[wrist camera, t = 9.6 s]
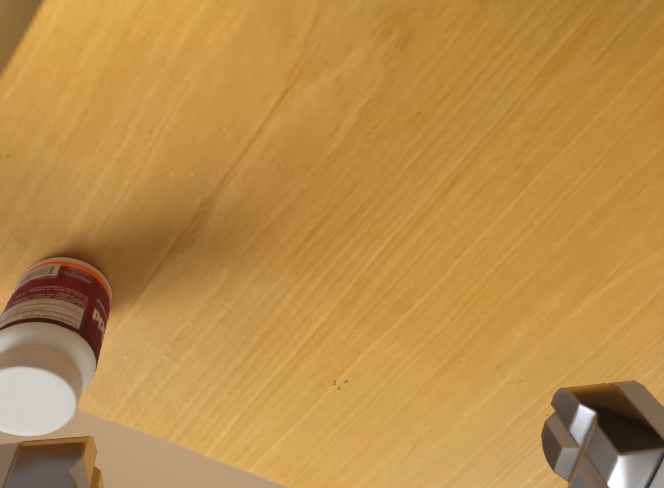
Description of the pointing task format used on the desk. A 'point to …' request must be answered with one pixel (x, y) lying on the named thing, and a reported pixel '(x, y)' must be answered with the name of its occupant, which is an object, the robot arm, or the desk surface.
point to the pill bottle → (50, 344)
